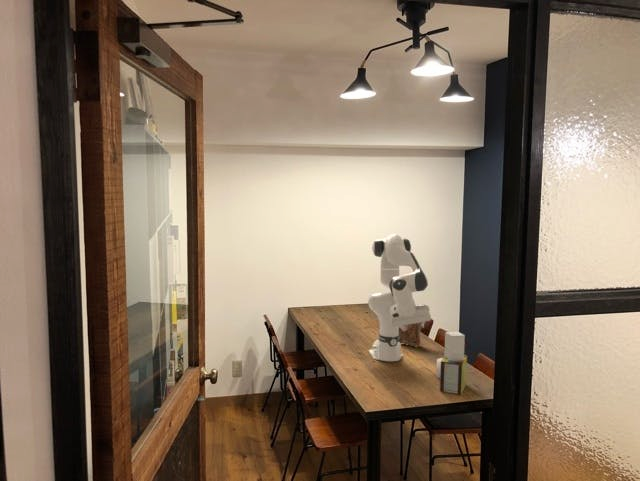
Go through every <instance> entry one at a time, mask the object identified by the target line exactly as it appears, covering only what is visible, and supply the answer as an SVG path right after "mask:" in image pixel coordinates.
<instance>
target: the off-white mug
mask: <svg viewBox="0 0 640 481" xmlns="http://www.w3.org/2000/svg"><path fill="white" fill-rule="evenodd" d="M442 359H443V357H439V358H437V359H436V378H437V379H439V380H440V375H441V360H442Z"/></svg>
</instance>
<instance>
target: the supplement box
mask: <svg viewBox="0 0 640 481" xmlns="http://www.w3.org/2000/svg"><path fill="white" fill-rule="evenodd" d="M465 338H466V337H465V334H464V333H461V332H459V331H446V332H445V333H444V355H443V357H444V356H445V357H446V358H447V359H449V360H450V361H462V360H464V355H465V340H466V339H465Z"/></svg>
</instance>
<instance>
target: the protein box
mask: <svg viewBox="0 0 640 481" xmlns="http://www.w3.org/2000/svg"><path fill="white" fill-rule="evenodd" d="M442 358H443V359H442V360H441V375H440V379H439V380H440V381H439V383H440V384H439V392H442V393H447V394H452V395H458V396H459V395H460V396H462V394H463V392H464V389H465V387H466V386H467V369H468V354H467V355H466V354H464V360H462V361H450V360H449V359H447V358H446V357H445V356H444V355H443V357H442Z"/></svg>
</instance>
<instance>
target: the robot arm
mask: <svg viewBox="0 0 640 481" xmlns="http://www.w3.org/2000/svg"><path fill="white" fill-rule="evenodd" d="M371 250H372V253H373V255H374V256H375V257H378V258H381V260H380V283H381V284H382V285H383V286H385V287H387V288H388V289H389V290H390V292H376V293H372V294H371V295H370V296H369V297H368V300H367V304H368V308H370V310H371V311H372V312H374V314H376V316H377V318H378V322H379V333H378V335H377V336H378V338H377V339H376V340H375V341H374V342H373V343H372V345H371V349H369V350H368V353H369V354H370V355H371V357H372V358H373V360H377V361H384V362H398V361H400V360H401V359H402V358H404V354H402V344H401V343H400V342H399V328H401V329H402V330H403V331H406V328H405V326H404V327H403V325H408V324H414V323H420V322H421V329H424V328H425V324H426V322H430V321H431V320H432V315H431V312H430V306H428V305H427V304H422V305H416V302H415V299H414V298H413V293H416V292H424V291H425V290H426V289H427V288H428V285H429V282H428V278H427V275H426V274H425V273H424V271H423V270H422V268H421V266H420V264H419V262H418V259H417V258H416V256H415V255H414V253H413V252H412V244H411V241H410V240H409V239H408V238H402V237H401V236H400V235H398V234H395V233H394V234H391V235H388V236H387V237H386V238H378V239H377V238H376V239H375V240H374V241H373V243H372V249H371ZM401 266H403V267H410V268H411V269H412V272H409V273H405V274H401V275H400V267H401Z"/></svg>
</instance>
